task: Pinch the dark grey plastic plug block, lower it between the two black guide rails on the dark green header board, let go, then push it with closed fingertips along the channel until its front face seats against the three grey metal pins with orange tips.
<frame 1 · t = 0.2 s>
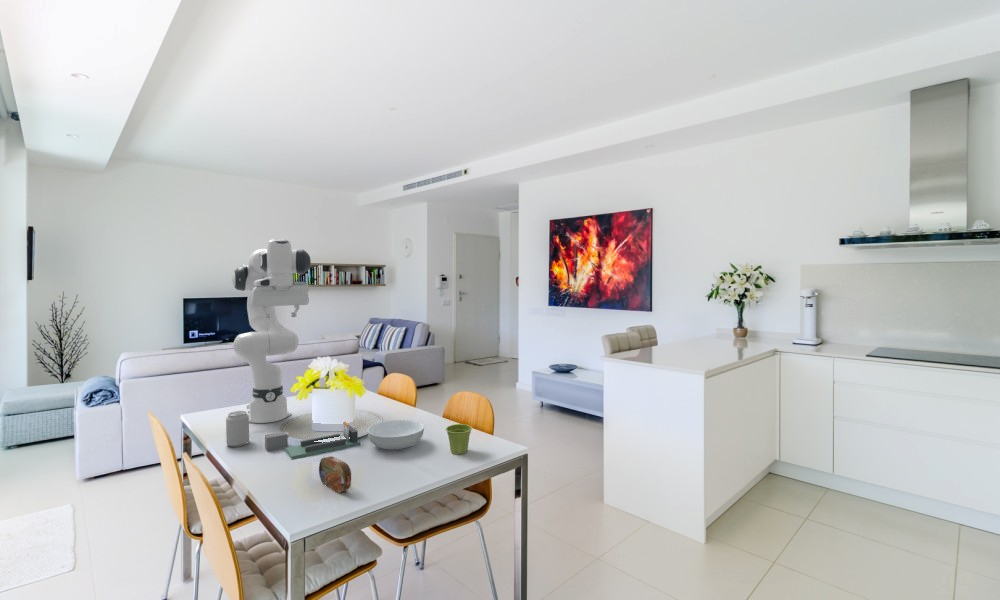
hand: (280, 317, 178), 47 cm above the table, fingers open, 8 cm apart
plant pot: (458, 452, 168), on the table
header board: (323, 447, 170), on the table
plug: (276, 447, 170), on the table
tin: (335, 487, 139), on the table
serving bowl: (396, 446, 173), on the table
can: (238, 444, 173), on the table
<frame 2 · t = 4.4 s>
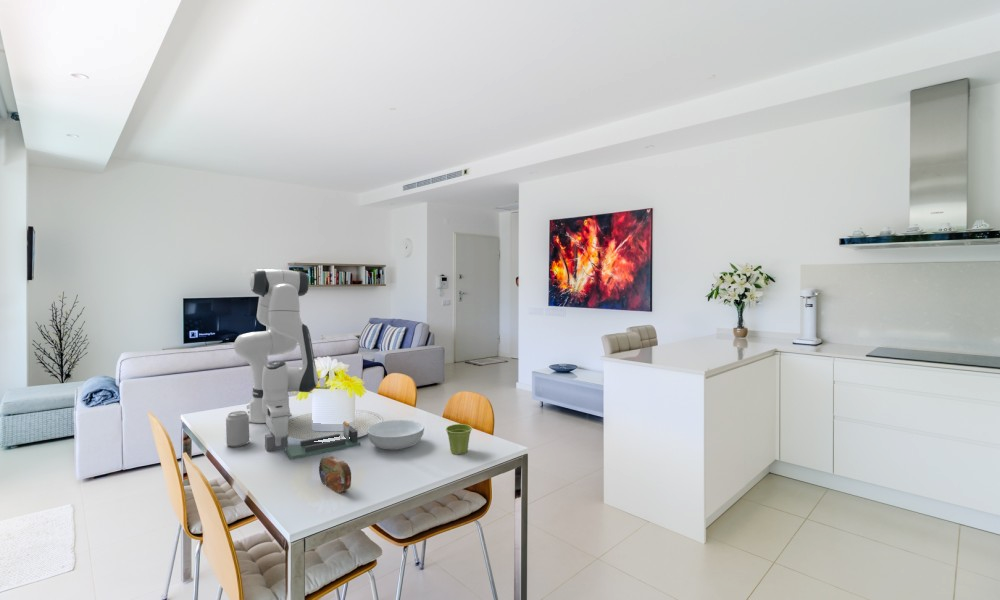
hand: (276, 443, 170), 2 cm above the table, fingers closed on plug, 4 cm apart
plug: (276, 447, 170), on the table, touching gripper
everything else where it was.
when the fingers open (4 cm above the table, at t = 9.4 s): plug drops 1 cm, resting on header board.
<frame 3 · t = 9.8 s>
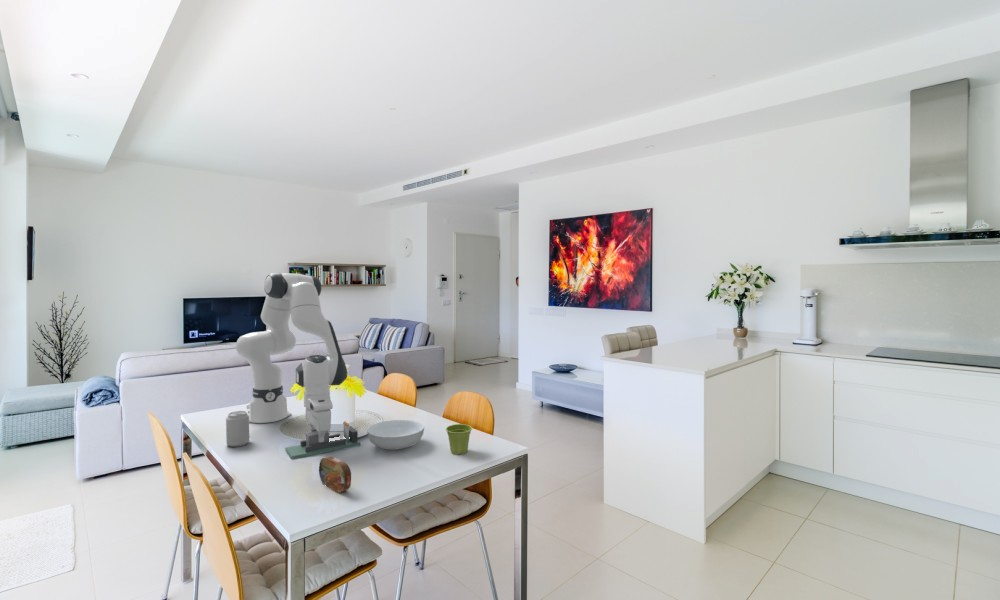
hand: (317, 437, 169), 4 cm above the table, fingers open, 8 cm apart
plug: (317, 446, 169), point 1 cm above the table, touching header board
everything else where it was.
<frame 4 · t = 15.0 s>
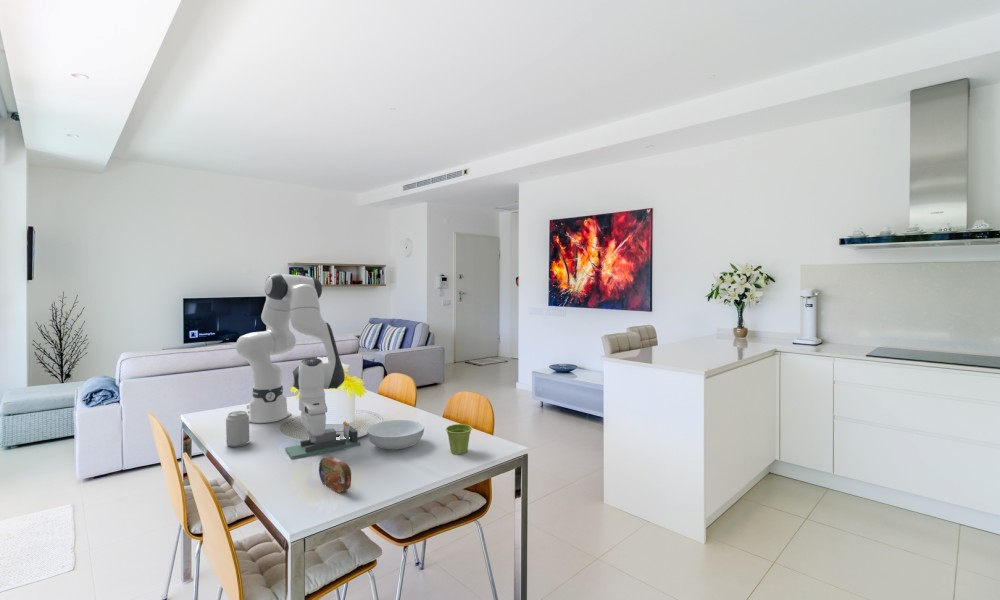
hand: (312, 441, 168), 3 cm above the table, fingers closed, pressing on plug
plug: (324, 444, 171), point 1 cm above the table, touching gripper
everything else where it was.
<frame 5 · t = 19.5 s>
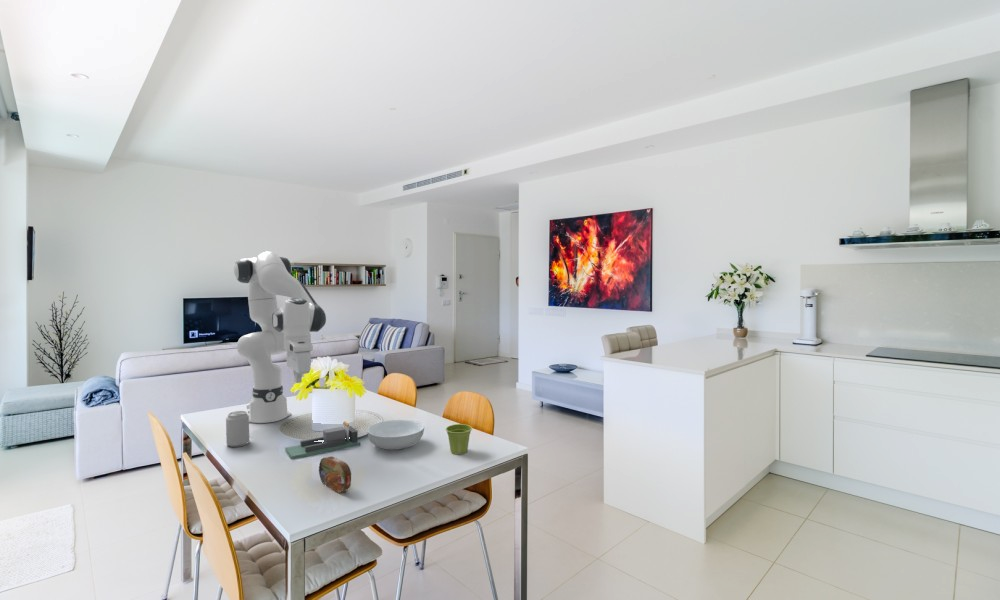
hand: (298, 382, 166), 25 cm above the table, fingers closed
plug: (334, 442, 173), point 1 cm above the table, touching header board
everything else where it was.
at the end: plug 0.2 cm from the target spot, point 1.0 cm above the table; plug tilted 0° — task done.
